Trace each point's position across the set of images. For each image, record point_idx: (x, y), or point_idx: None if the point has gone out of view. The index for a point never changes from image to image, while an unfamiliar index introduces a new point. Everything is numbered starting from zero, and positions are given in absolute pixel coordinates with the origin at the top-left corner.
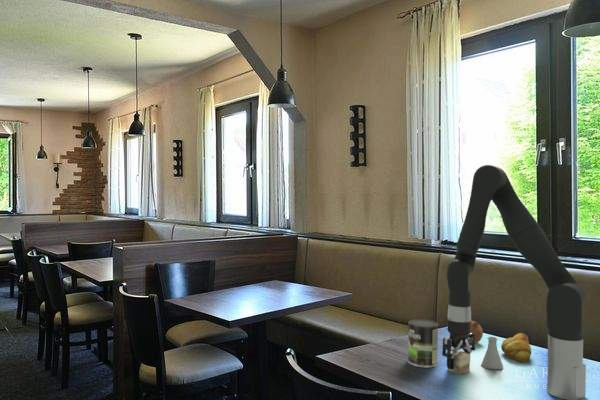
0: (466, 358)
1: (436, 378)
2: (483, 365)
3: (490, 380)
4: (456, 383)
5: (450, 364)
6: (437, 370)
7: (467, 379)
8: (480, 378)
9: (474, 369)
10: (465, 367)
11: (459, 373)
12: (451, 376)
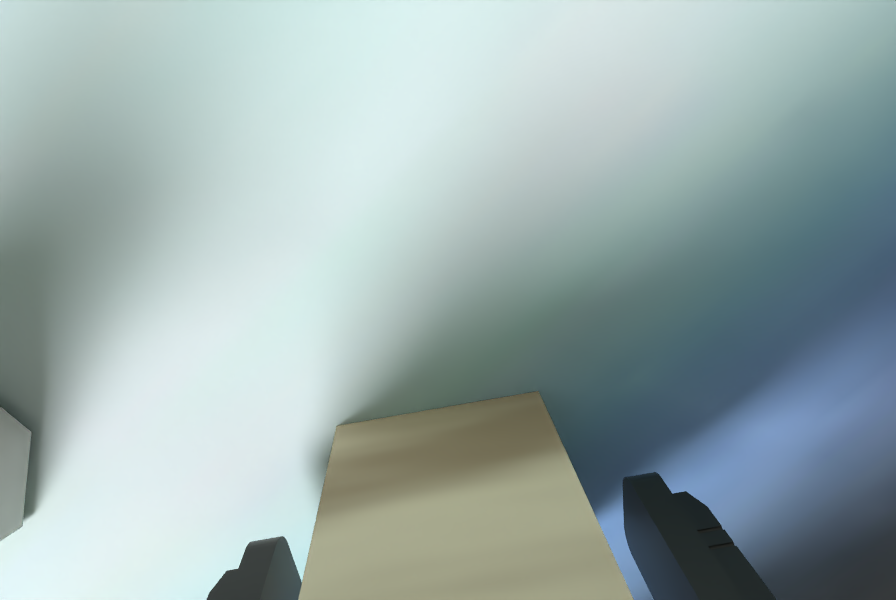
0: (409, 581)
1: (892, 401)
2: (11, 488)
3: (294, 20)
4: (855, 173)
5: (721, 535)
6: None
7: (597, 221)
8: (388, 166)
9: (218, 453)
10: (430, 457)
11: (540, 408)
12: (690, 383)
